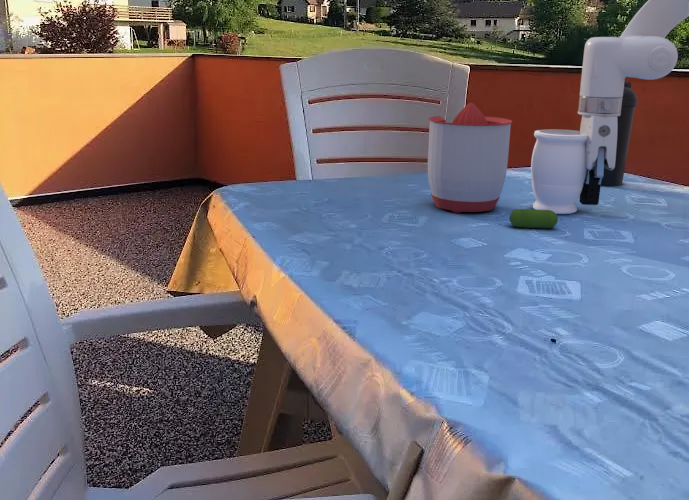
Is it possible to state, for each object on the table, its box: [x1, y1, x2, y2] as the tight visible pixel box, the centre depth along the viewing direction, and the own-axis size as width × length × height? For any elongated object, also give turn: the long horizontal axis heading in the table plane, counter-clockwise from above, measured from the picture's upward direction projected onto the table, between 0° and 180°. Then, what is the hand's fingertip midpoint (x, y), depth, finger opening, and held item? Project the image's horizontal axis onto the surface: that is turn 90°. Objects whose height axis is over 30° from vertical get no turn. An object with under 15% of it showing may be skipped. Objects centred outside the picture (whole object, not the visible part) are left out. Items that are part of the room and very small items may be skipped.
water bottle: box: [600, 80, 639, 187], centre depth 162 cm, size 10×10×23 cm
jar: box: [530, 128, 588, 215], centre depth 135 cm, size 11×10×15 cm
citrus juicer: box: [427, 102, 513, 214], centre depth 136 cm, size 16×17×20 cm
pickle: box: [509, 208, 559, 229], centre depth 123 cm, size 8×3×3 cm, turn 85°
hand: (588, 203), depth 136 cm, fingers closed
